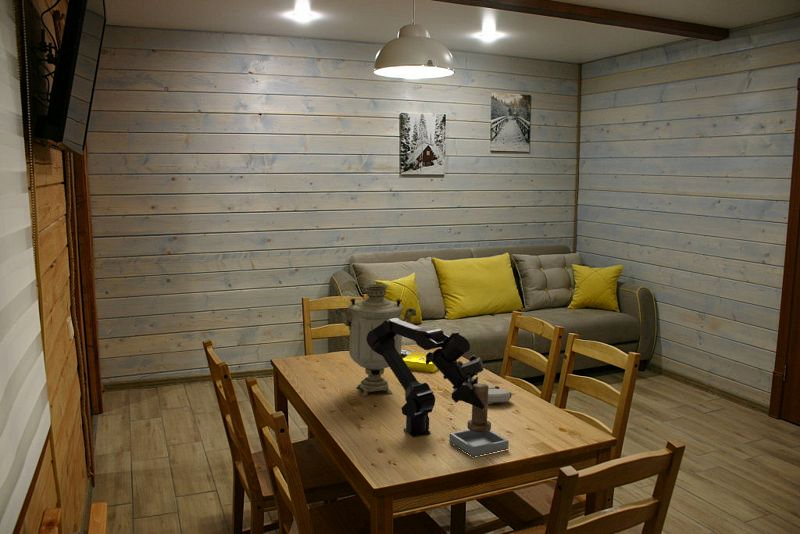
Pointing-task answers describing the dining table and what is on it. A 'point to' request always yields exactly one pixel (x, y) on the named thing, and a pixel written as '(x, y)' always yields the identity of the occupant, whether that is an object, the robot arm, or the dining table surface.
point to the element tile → (419, 362)
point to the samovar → (364, 321)
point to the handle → (480, 411)
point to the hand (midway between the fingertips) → (484, 405)
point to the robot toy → (498, 394)
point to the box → (478, 442)
